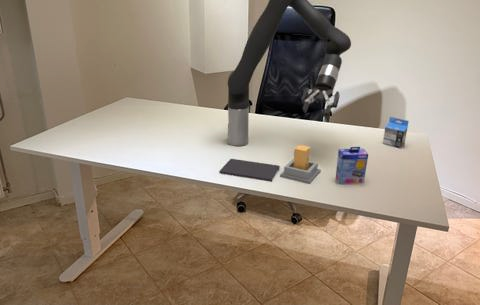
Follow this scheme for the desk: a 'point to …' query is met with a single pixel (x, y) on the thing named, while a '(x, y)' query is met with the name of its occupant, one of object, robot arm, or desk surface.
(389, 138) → the blue grey product box
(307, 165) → the orange cap block
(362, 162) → the ink cartridge box
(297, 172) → the square socket
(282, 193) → the desk surface
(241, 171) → the notebook
